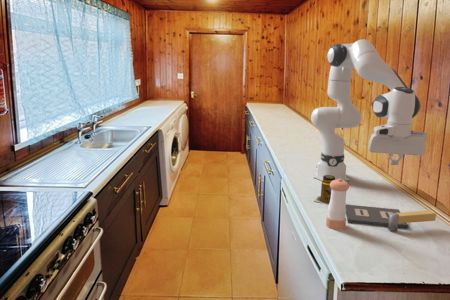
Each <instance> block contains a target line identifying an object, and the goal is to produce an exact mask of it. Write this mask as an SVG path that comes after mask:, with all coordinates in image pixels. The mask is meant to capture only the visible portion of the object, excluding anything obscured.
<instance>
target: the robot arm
mask: <svg viewBox="0 0 450 300" xmlns="http://www.w3.org/2000/svg"><path fill="white" fill-rule="evenodd" d="M326 54H327V55H326V60H327V63H328V65H330V70H329V74H328V80H327V81H328V83H327V93H326V94H327V96H328V97H329V98H330V99H331V100H333V101H334V102H336V105H337V106H322V107H321V106H320V107H317V108H314V109H313V110H312V112H311V115H310V120H311V123H312V125H313V126H314V127H315V128H316V129H317V130H318V131H319V133H320V134H321V138H322V150H321V154H320V161H319V162H318V163H316V171H315V172H314V174H313V175H312V178H313V179H317V180H318V181H321V182H322V181H323V176H324V175H331V176H334V177H335V180H338V179H342V180H343V181H346V182H348V181H349V180H350V178H349V177H348V176H347V165H346V163H345V162H344V161H345V145H346V144H345V139H344V137H343V136H341V135H339V134H338V133H336V129H351V128H357V127H358V126H359V125H360V124H361V122H362V114H361V113H362V112H361V111H360V110H359V109H358V108H357V107H356V106H355V105H354V103H353V101H352V97H351V86H352V85H351V84H352V74H353V69H355V71H356V73H357V74H358V75H359V77H360V78H361V79H364V80H366V81H370V82H374V83H379V84H382V85H384V86H386V87H387V88H388V89H389V90H390V91H389V92H386V93H383V94H378V95H377V96H376V97H375V98H374V100H373V101H372V105H371V106H372V107H371V108H372V109H371V110H372V112H373V114H374V115H375V116H376V117H377V118H380V119H387V121H386V123H385V124H381V125H377V126H374V127H373V133H372V134H371V136H370V138H369V142H368V146H367V147H368V148H367V149H368V151H369V152H370V153H375V154H387V156H388V158H389V164H390V165H391V166H392V165H393V166H399V164H400V161H401V160H402V158H403V157H404V155H406V156H419V157H422V156H424V155H425V154H426V142H427V141H428V140H427V139H428V135H427V133H426V132H424V131H422V130H420V131H419V130H418V131H417V130H412V128H413V118H415V117H416V115H418V113H419V112H420V110H421V106H422V105H421V101H420V99H419V98H418V96H417V95H416V94H415V91H414V90H413V89H412V88H410V87H408V86H407V85H406V83H405V81H404V80H403V79H402V78H401V77H400V75H399V74H398V73H397V71H396V70H395V69H394V68H393V67H391V66H389V64H387V63H386V62H385V61H384V59H383V58H382V57H381V55H380V54H379V52H378V50H377V49H376V48H375V46H374V45H373V44H372V42H370V41H369V40H368V39H365V38H363V39H358V40H356V41H354V42H351V43H342V44H341V43H335V44H333V45H331V46H330V47H329V48H328V50H327V53H326ZM393 155H397V156H398V157H397V158H396V159H393Z"/></svg>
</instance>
